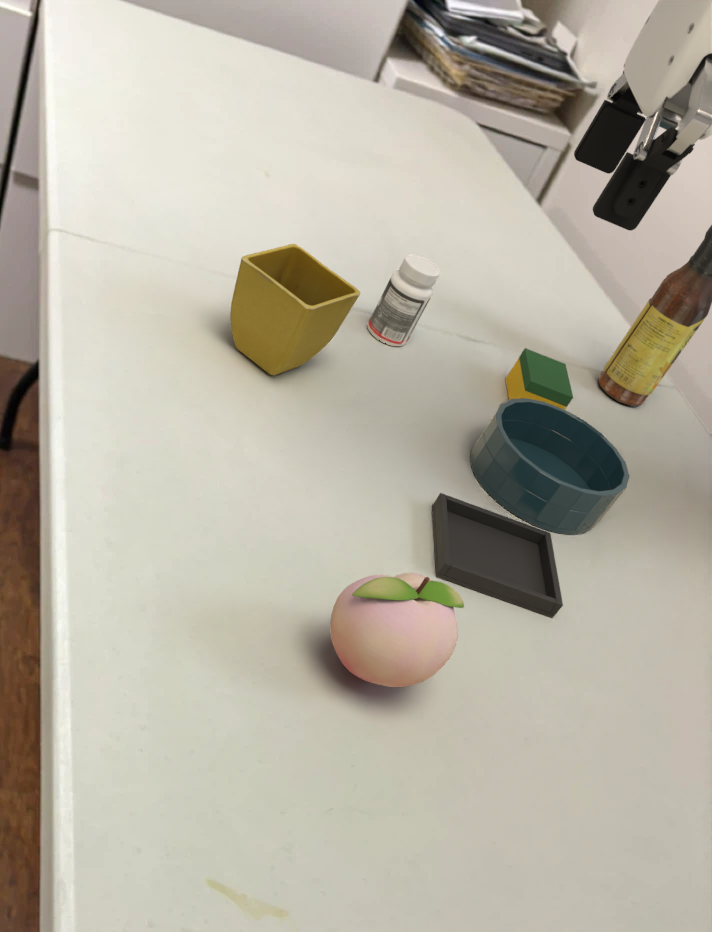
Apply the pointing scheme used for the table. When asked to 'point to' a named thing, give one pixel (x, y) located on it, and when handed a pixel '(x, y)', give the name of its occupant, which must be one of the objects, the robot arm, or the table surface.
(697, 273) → the sauce bottle
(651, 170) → the robot arm
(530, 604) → the sponge tray
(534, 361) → the sponge
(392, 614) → the decorative fruit
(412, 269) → the pill bottle
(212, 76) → the table surface
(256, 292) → the flower pot
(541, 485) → the bowl
